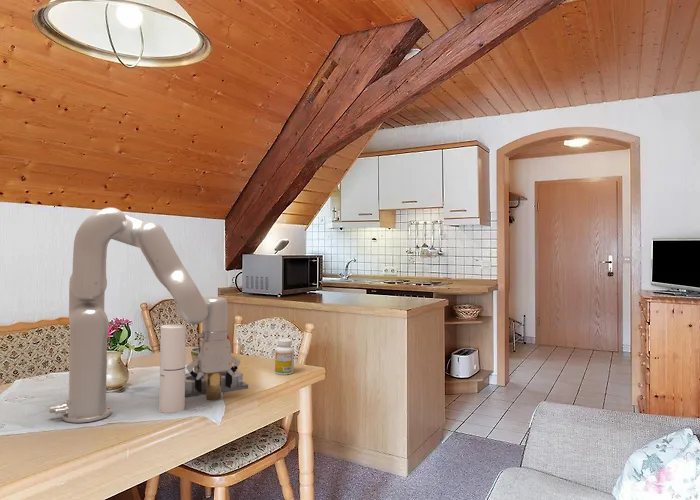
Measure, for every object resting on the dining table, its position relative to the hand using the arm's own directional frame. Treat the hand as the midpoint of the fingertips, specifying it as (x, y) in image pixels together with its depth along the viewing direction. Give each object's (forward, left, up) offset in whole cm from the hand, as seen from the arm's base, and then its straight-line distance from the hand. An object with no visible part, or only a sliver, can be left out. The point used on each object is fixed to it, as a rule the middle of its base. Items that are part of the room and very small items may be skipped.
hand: (213, 388), depth 164 cm
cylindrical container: (-14, -4, -3) cm, 15 cm away
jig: (+3, +12, -3) cm, 13 cm away
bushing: (0, 0, -3) cm, 3 cm away
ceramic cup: (+7, +27, -3) cm, 28 cm away
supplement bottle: (+34, +18, -3) cm, 39 cm away
